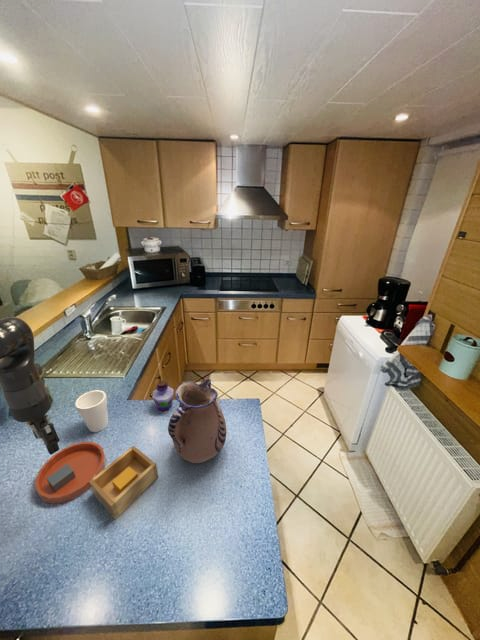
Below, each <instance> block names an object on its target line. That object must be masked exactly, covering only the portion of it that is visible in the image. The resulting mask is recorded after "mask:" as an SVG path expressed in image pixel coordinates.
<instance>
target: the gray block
mask: <svg viewBox="0 0 480 640" xmlns="http://www.w3.org/2000/svg"><path fill="white" fill-rule="evenodd" d="M75 477H76V476H75V474H74V471H73V470H72V469H71V467H70V466H69V465H68V464H66V465H64V466H63V467H62V468H60V469H59V470H57V471H56V472H54V473H53V474H52V475H50V476H49V477H47V478H46V479H47V481H48V483H49V485H50V486H51V487H52V489H53V490H54V491H55V492H57V491H58V490H59V489H61V488H62V487H63V486H64V485H66V484H67V483H68V482H70V481H71V480H72V479H74V478H75Z"/></svg>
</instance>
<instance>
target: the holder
mask: <svg viewBox="0 0 480 640" xmlns="http://www.w3.org/2000/svg"><path fill="white" fill-rule="evenodd" d="M128 467H130V468H132V469H133V470H134V471H135V472H136V473H137V474H138V478H136V479H135V480H134V481H133V482H132V483H131V484H130V485H129V486H128V487H127V488H126V489H125V490H124V491H123V492H121V493H119V492H118V491H117V490H116V489H115V488H114V486H113V483H112V481H113V480H114V479H115V478H116V477H118V476H119V475H120V474H121V473H122V472H123V471H124V470H126V469H127V468H128ZM158 477H159V473H158V467H157V463H156V462H155V461H153V460H152V459H151V458H150V457H149V456H147V455H146V454H145V453H144V452H142V451H141V450H140V449H138V448H137V447H136V446H135V445H131V447H130V448H128V449H126V451H125V452H123V453H122V454H121V455H120V456H118V457H117V458H116V459H115V460H114V461H112V462H111V463H110V464H109V465H106V466H105V469H104V470H102V471H101V472H100V473H99V474H98V475H96V476H95V477H94V478H93V479H91V480H90V481H89V484H90V487H91V488H90V489H91V492H92V494H93V495H94V497H95V498H96V499H97V500H98V501H99V502H100V503H101V504H102V506H103V507H104V508H105V509H106V510H107V512H109V514H110V515H111V516H112V517H113V519H115V520H117V519H118V518H119V517H120V516H121V515H122V514H123V513H124V512H125V511H126V510H127V509H128V508H129V507H130V506H131V505H132V504H133V503H134V502H135V501H136V500H137V499H138V498H139V497H140V496H141V495H142V494H143V493H144V492H145V491H146V490H147V489H148V488H149V487H150V486H151V485H152V484H153V483H154V482H155V481H156V480H157V479H158Z"/></svg>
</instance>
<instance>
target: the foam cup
mask: <svg viewBox="0 0 480 640" xmlns="http://www.w3.org/2000/svg"><path fill="white" fill-rule="evenodd" d="M107 402H108V396H107V394H106V392H105V391H103V390H101V389H97V390H95V389H93V390H89V391H87V392H85V393H83V394H82V395H80V396H79V397H78V398H77V399H76V400H75V403H74V405H75V408H76V411H77V412H78V414H79V415H80V416H81V418H82V420H83V422H84V424H85V425H86V427H87V430H89V432H91V433H99V432H101V431H103V430H105V429H106V428H107V427H108V425H109V414H108V412H109V411H108V403H107Z"/></svg>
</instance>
